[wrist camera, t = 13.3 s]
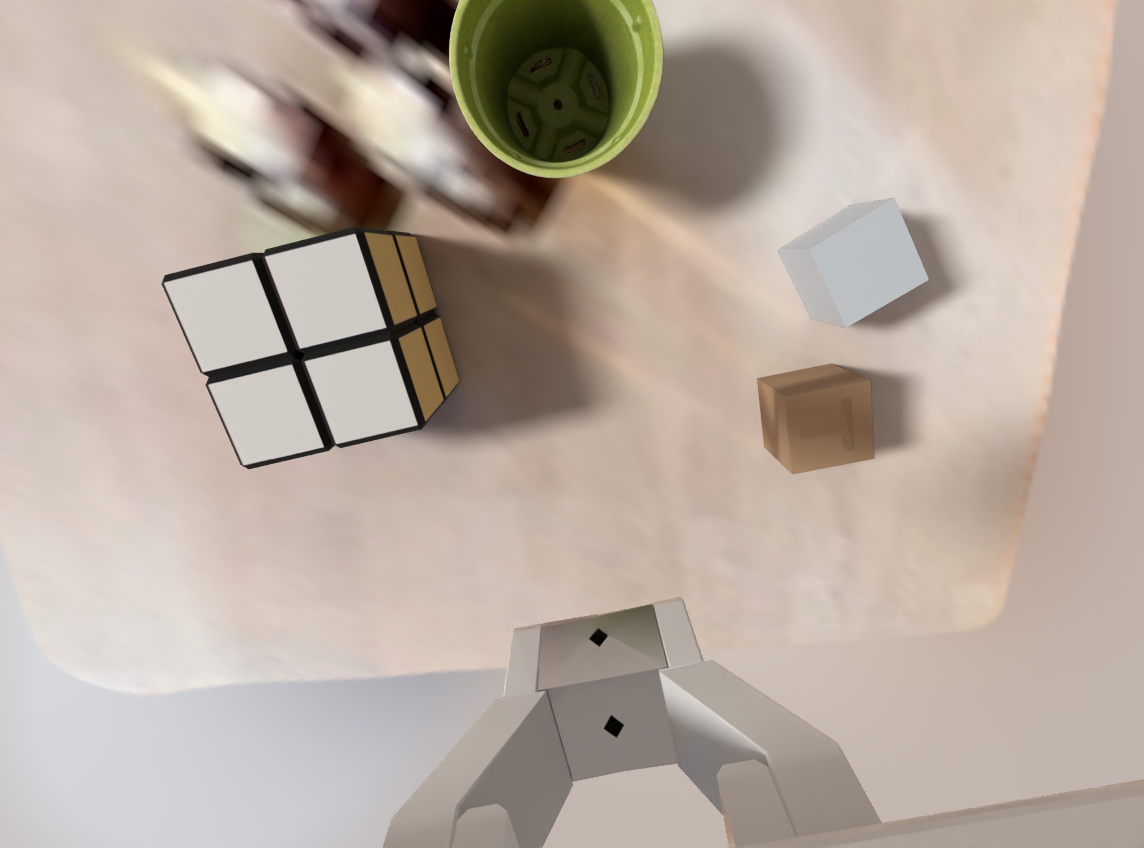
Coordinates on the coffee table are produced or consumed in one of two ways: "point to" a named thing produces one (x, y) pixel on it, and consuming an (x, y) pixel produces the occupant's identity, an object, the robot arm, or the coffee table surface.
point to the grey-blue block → (854, 262)
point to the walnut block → (817, 417)
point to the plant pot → (556, 78)
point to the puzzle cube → (316, 342)
